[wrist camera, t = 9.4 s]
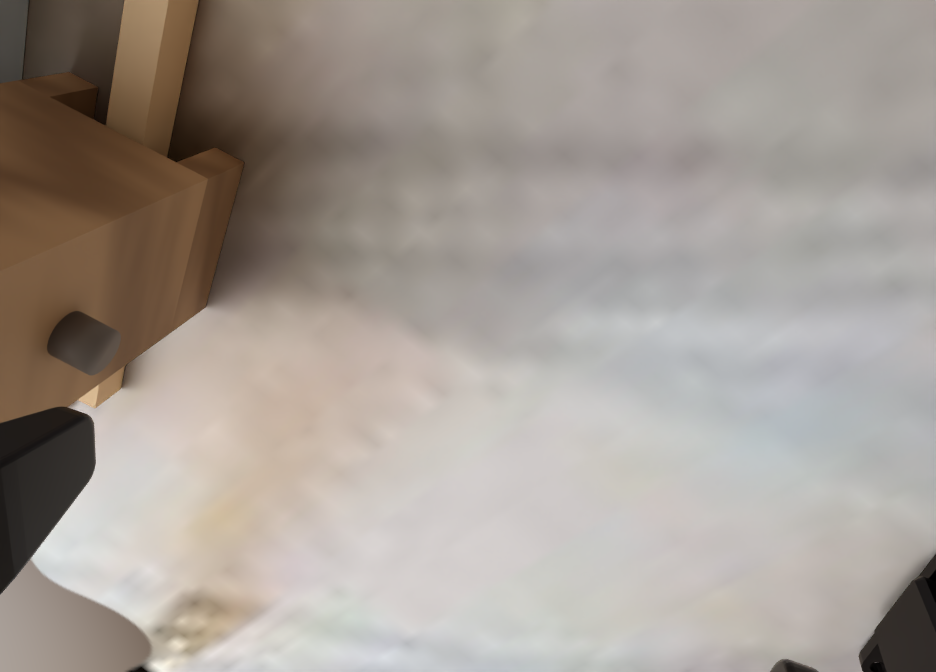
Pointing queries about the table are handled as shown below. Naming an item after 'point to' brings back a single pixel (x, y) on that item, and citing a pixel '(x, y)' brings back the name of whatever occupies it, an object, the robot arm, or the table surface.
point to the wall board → (125, 83)
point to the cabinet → (94, 242)
